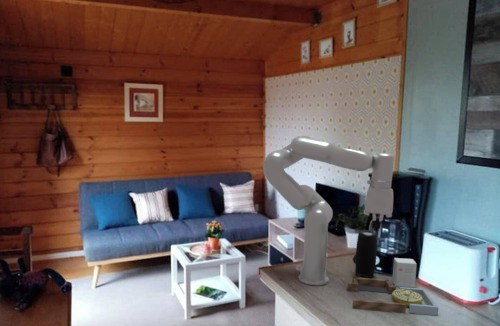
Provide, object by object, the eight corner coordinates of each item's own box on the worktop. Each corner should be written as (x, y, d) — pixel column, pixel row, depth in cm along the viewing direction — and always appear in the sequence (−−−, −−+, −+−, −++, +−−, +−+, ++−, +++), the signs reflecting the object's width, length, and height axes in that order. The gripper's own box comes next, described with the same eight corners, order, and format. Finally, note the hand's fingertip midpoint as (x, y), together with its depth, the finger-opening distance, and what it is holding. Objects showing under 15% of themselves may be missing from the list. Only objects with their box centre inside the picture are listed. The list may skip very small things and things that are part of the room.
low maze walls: (353, 308, 150) (353, 300, 150) (345, 283, 172) (345, 276, 172) (405, 312, 148) (406, 304, 148) (391, 287, 170) (391, 280, 170)
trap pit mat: (358, 290, 166) (358, 290, 166) (356, 285, 170) (356, 285, 170) (387, 293, 164) (387, 292, 164) (385, 288, 169) (385, 287, 169)
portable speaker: (354, 278, 178) (357, 233, 176) (354, 270, 187) (357, 228, 185) (374, 280, 176) (378, 236, 174) (374, 273, 185) (377, 230, 183)
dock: (409, 313, 148) (410, 305, 148) (398, 294, 164) (399, 286, 164) (437, 315, 147) (438, 307, 147) (423, 296, 163) (424, 288, 163)
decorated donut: (406, 294, 164) (407, 285, 164) (428, 306, 155) (429, 296, 154) (386, 298, 160) (387, 289, 159) (407, 310, 150) (408, 300, 150)
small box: (411, 282, 176) (413, 258, 175) (414, 288, 171) (417, 263, 169) (391, 281, 177) (393, 257, 176) (394, 286, 171) (397, 262, 170)
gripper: (362, 184, 158) (357, 230, 160) (402, 188, 156) (397, 235, 158) (360, 181, 165) (355, 225, 168) (399, 184, 163) (393, 229, 166)
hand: (375, 230), depth 163 cm, fingers closed
